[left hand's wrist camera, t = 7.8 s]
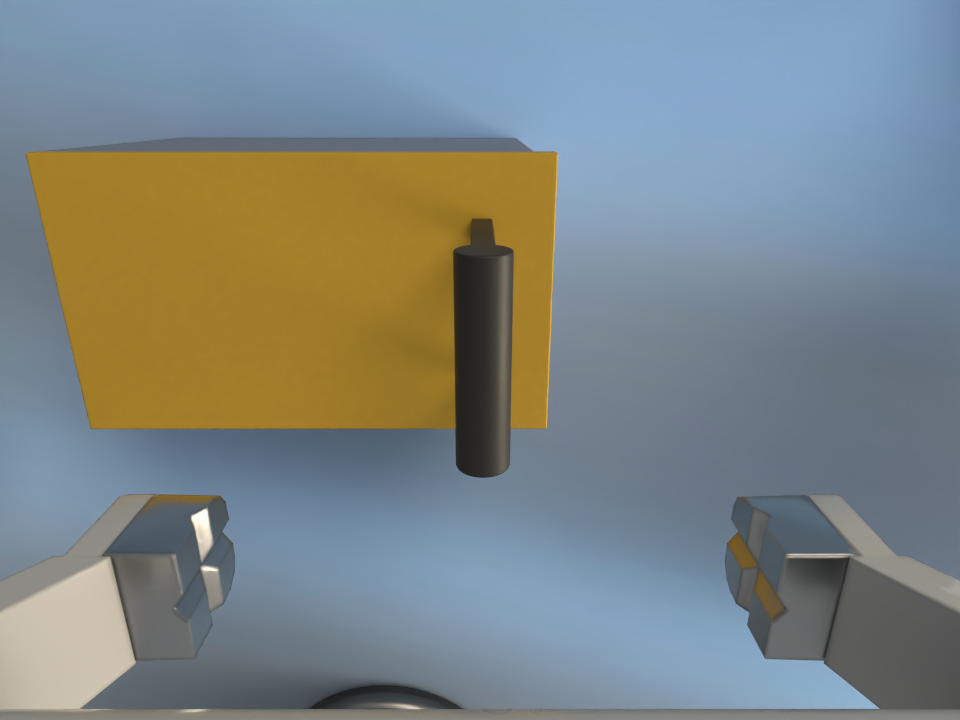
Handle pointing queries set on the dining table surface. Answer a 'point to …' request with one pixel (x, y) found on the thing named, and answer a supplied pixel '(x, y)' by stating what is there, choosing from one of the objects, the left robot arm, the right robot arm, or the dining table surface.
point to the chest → (320, 145)
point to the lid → (307, 289)
